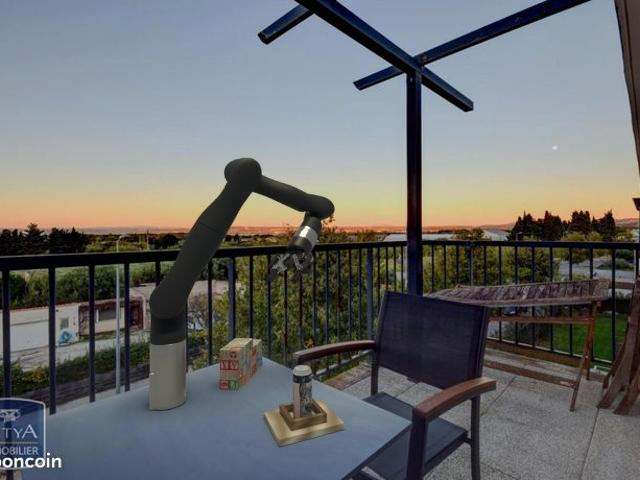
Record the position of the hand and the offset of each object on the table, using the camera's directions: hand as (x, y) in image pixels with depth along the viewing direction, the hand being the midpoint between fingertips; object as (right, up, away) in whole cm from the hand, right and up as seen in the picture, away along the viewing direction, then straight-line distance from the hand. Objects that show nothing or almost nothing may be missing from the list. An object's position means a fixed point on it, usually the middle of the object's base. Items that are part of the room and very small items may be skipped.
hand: (281, 281), depth 100 cm
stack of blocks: (-14, -33, +12) cm, 38 cm away
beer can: (+7, -31, -18) cm, 37 cm away
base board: (+7, -32, -18) cm, 38 cm away
